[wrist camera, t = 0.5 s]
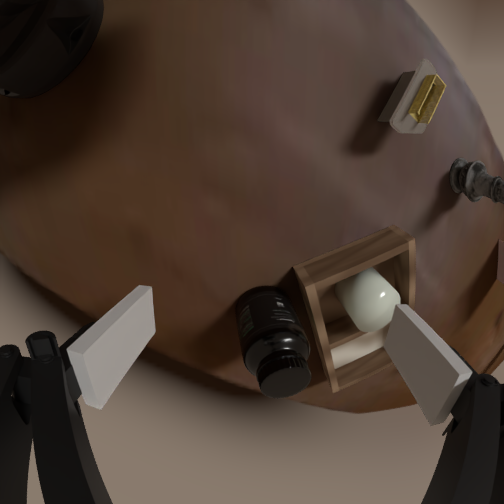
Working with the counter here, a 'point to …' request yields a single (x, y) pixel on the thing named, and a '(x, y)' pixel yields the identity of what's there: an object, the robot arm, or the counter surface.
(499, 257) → the greeting card
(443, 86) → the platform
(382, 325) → the pale green dome
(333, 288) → the caddy
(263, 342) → the supplement bottle
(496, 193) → the salt shaker
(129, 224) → the counter surface
